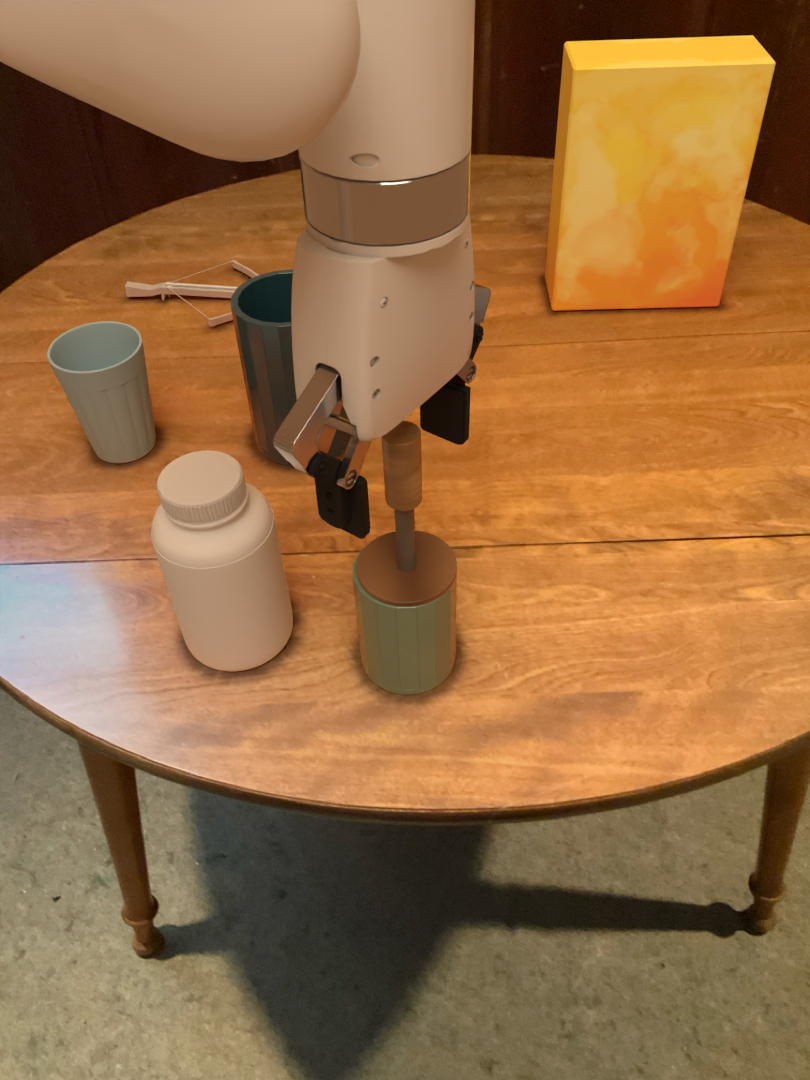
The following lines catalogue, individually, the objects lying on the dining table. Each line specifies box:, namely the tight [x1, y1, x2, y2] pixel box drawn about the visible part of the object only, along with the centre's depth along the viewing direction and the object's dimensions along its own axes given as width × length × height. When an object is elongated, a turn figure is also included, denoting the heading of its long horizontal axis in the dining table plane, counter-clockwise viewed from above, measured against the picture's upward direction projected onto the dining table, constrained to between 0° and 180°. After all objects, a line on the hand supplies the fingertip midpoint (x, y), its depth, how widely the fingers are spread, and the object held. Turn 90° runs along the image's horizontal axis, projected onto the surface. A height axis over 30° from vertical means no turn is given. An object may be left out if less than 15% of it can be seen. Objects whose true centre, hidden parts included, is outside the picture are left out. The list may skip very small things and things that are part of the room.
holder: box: [352, 547, 458, 696], centre depth 62 cm, size 7×7×9 cm
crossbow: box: [124, 259, 260, 327], centre depth 101 cm, size 16×13×2 cm
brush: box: [356, 420, 458, 607], centre depth 58 cm, size 6×6×19 cm
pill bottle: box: [150, 449, 294, 673], centre depth 62 cm, size 8×8×15 cm
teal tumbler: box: [230, 268, 352, 467], centre depth 79 cm, size 9×9×14 cm
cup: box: [46, 320, 157, 464], centre depth 80 cm, size 8×8×10 cm
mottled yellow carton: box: [544, 34, 777, 312], centre depth 93 cm, size 18×12×24 cm
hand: (397, 478), depth 53 cm, fingers open, 9 cm apart
